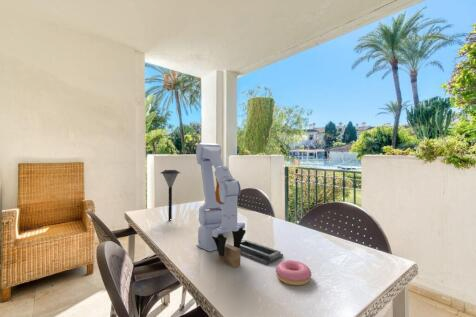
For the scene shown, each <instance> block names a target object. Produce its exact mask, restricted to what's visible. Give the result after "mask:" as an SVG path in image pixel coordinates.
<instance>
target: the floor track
mask: <svg viewBox="0 0 476 317" xmlns="http://www.w3.org/2000/svg"><path fill="white" fill-rule="evenodd" d="M240 249H241V256H243V257H245V258H248V259H250V260H253V261H255V262H258V263H261V264H262V265H265V266H268V265H271V264H273V263H275V262H277V261H278V260H280V259H283V257H284V253H281V251H279V250H277V249H274V248H271V247H268V246H265V245H262V244H259V243H256V242H253V241H250V240H247V239H242V241H241V245H240Z"/></svg>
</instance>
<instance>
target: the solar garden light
mask: <svg viewBox="0 0 476 317" xmlns="http://www.w3.org/2000/svg"><path fill="white" fill-rule="evenodd" d="M160 174H162V175H163V178H164V180H165V182H166V184H167V186H168V221H171V220H170V219H172V218H173V214H172V213H173V211H172V210H173V185H174V184H175V181H176V179H177V177H178V175H179V174H181V172H180V171H178V170H176V169H165V170H163V171H161V172H160Z"/></svg>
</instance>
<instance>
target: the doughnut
mask: <svg viewBox="0 0 476 317" xmlns="http://www.w3.org/2000/svg"><path fill="white" fill-rule="evenodd" d="M311 271H312V270H311V269H310V267H309V266H308V265H307V264H305V263H303V262H300V261H298V260H291V259H290V260H289V259H288V260H283V261H280V262H279V263H278V264H277V265H276V268H275V273H276V276H277V278H278V279H279V280H280V281H281V282H283V283H285V284H286V285H291V286H303V285H306V284H307V283H309V282H310V280H311V277H312V272H311Z"/></svg>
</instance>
